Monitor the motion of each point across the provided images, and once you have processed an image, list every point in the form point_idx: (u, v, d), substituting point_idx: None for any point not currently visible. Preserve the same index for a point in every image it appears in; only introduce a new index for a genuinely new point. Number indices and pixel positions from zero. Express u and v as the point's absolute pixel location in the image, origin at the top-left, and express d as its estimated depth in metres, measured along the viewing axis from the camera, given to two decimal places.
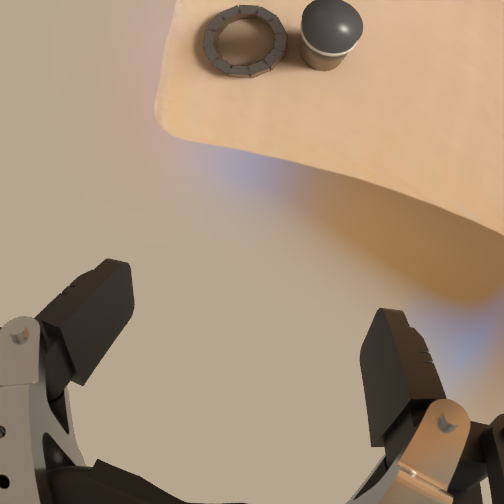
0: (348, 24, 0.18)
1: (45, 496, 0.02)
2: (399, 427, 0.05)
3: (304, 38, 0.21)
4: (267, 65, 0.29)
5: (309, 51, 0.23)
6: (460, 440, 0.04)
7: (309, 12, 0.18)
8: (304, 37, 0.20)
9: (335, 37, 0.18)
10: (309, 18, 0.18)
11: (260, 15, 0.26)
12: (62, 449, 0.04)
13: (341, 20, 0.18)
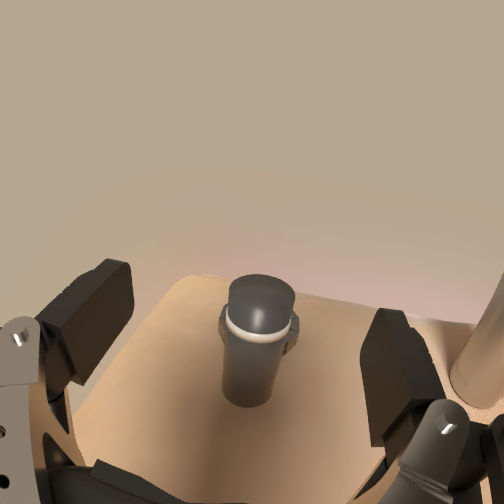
0: (261, 301, 0.21)
1: (44, 496, 0.02)
2: (399, 427, 0.05)
3: None
4: None
5: None
6: (460, 440, 0.04)
7: (271, 279, 0.24)
8: None
9: (242, 290, 0.22)
10: (264, 278, 0.24)
11: None
12: (62, 449, 0.04)
13: (265, 297, 0.22)
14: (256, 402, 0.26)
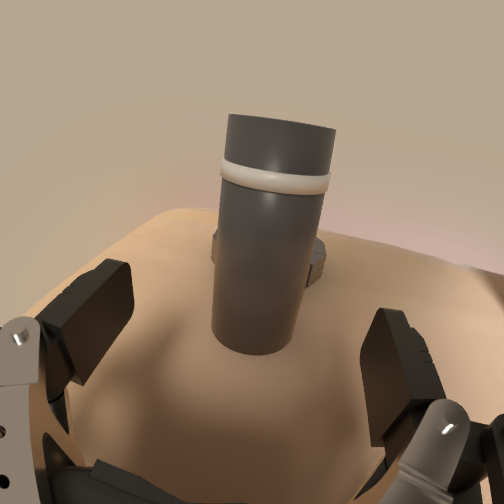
0: (283, 120, 0.12)
1: (44, 495, 0.02)
2: (399, 427, 0.05)
3: None
4: None
5: None
6: (460, 440, 0.04)
7: None
8: None
9: None
10: None
11: None
12: (62, 449, 0.04)
13: (289, 121, 0.12)
14: (269, 344, 0.16)
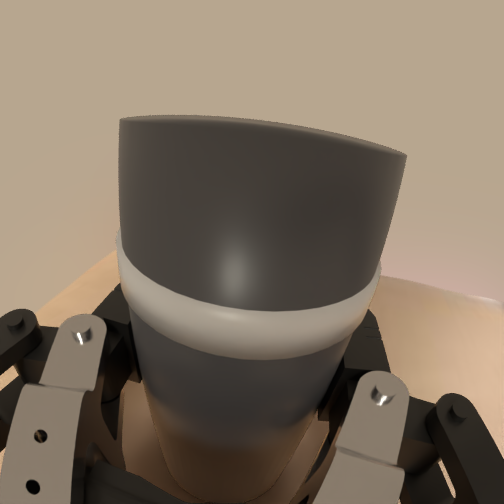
0: (261, 127, 0.04)
1: None
2: (339, 399, 0.06)
3: None
4: None
5: None
6: (394, 413, 0.05)
7: (295, 125, 0.07)
8: None
9: (180, 117, 0.05)
10: (270, 122, 0.07)
11: None
12: (105, 457, 0.04)
13: (281, 127, 0.04)
14: (246, 497, 0.08)
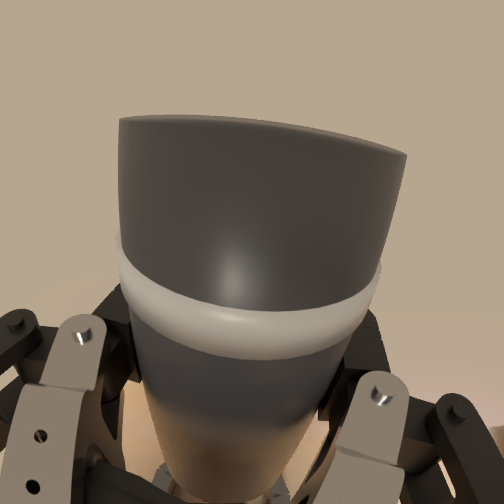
0: (261, 126, 0.04)
1: None
2: (339, 398, 0.06)
3: None
4: None
5: None
6: (395, 413, 0.05)
7: (295, 125, 0.07)
8: None
9: (180, 117, 0.05)
10: (270, 121, 0.07)
11: None
12: (106, 457, 0.04)
13: (281, 126, 0.04)
14: (246, 497, 0.08)
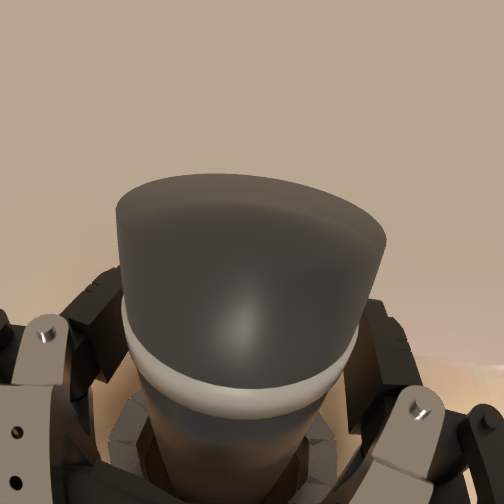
0: (247, 229, 0.04)
1: (58, 501, 0.02)
2: (374, 413, 0.06)
3: None
4: None
5: None
6: (433, 427, 0.04)
7: (286, 185, 0.07)
8: None
9: (173, 198, 0.05)
10: (261, 181, 0.07)
11: (302, 491, 0.09)
12: (81, 451, 0.04)
13: (267, 218, 0.05)
14: None
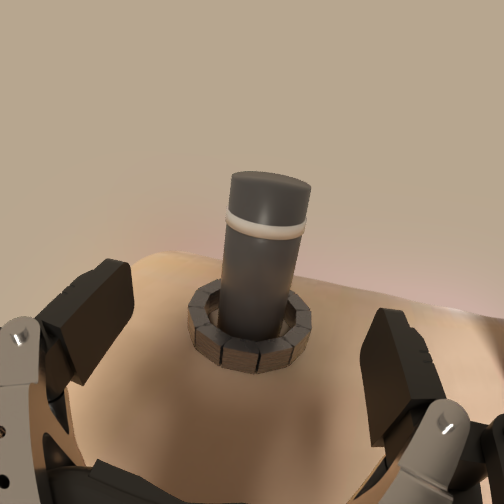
0: (271, 184, 0.17)
1: (45, 496, 0.02)
2: (399, 427, 0.05)
3: None
4: (199, 325, 0.20)
5: None
6: (460, 440, 0.04)
7: (281, 176, 0.20)
8: None
9: (248, 177, 0.18)
10: (273, 174, 0.20)
11: (293, 329, 0.21)
12: (62, 449, 0.04)
13: (276, 183, 0.18)
14: None
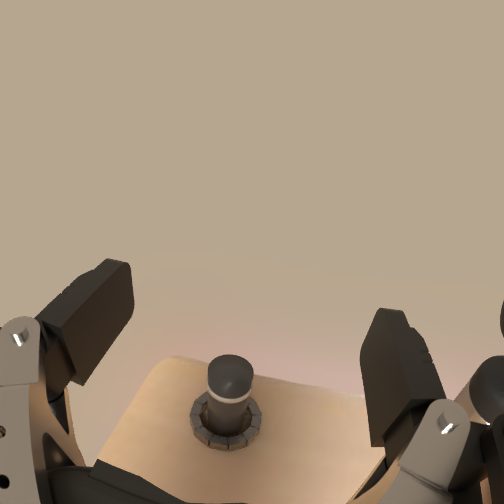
0: (229, 379, 0.30)
1: (44, 496, 0.02)
2: (399, 427, 0.05)
3: None
4: (197, 428, 0.33)
5: None
6: (460, 440, 0.04)
7: (238, 359, 0.33)
8: None
9: (217, 370, 0.31)
10: (233, 358, 0.33)
11: (248, 429, 0.34)
12: (62, 449, 0.04)
13: (232, 375, 0.30)
14: (231, 434, 0.34)
